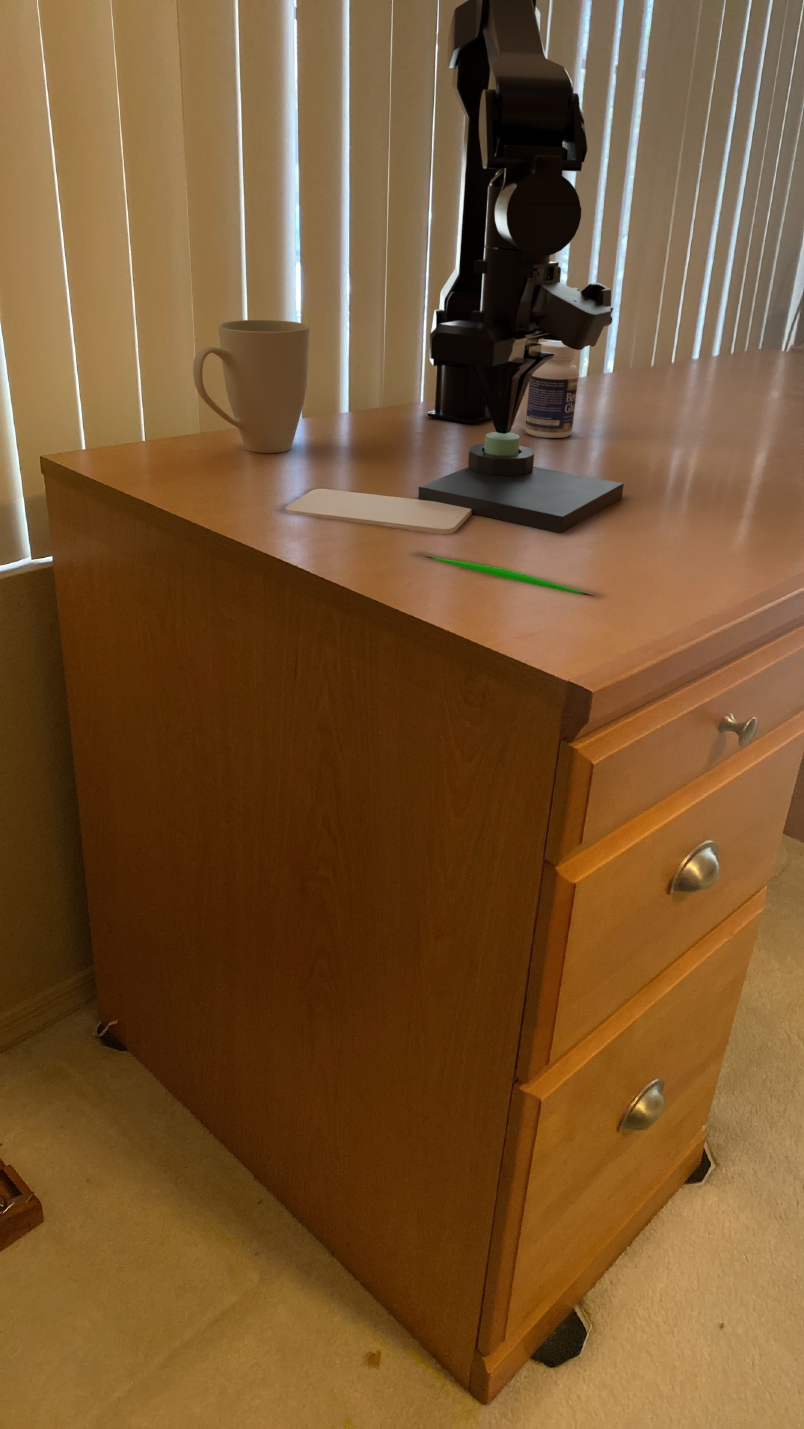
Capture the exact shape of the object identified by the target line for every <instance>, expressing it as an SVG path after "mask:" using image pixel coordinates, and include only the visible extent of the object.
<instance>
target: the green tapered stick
mask: <svg viewBox="0 0 804 1429" xmlns="http://www.w3.org/2000/svg"><path fill="white" fill-rule="evenodd" d="M424 557H425V558H428V559H431V560H435V561H439V562H442V563H446V564H449V565H452V566H456V567H461V568H465V569H468V570H471V571H475V572H479V573H483V574H487V575H491V576H495V577H499V578H502V579H507V580H513V581H517V582H520V583H526V584H531V585H536V586H540V587H545V588H550V589H553V590H554V589H555V590H559V591H565V592H570V593H575V594H579V595H586V596H591V597H594V595H593V594H589V593H587V592H584V591H580V590H577V589H575V588H571V587H567V586H564V585H561V584H557V583H554V582H550V581H547V580H545V579H541V578H537V577H534V576H531V575H527V574H524V573H521V572H518V571H513V570H509V569H505V568H502V567H496V566H490V565H486V564H479V563H473V562H467V561H459V560H455V559H454V560H453V559H445V558H441V557H432V556H425V555H424Z"/></svg>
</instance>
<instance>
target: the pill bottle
mask: <svg viewBox="0 0 804 1429" xmlns="http://www.w3.org/2000/svg"><path fill="white" fill-rule="evenodd" d="M539 344H542V346H541V352H547V353H553V354H554V357H553V358H552V359H551V360H548V361H547V362H546V363H544V364H543V365H542V366H541V367H539V368H538V369H537V370H536V371H535V372H534V373H533V374H532V377H531V379H530V381H529V384H528V394H527V405H526V416H525V426H524V430H525V432H526V433H527V434H528V435H529V436H532V437H536V438H545V439H560V438H561V439H562V438H567V437H570V436H571V435H572V432H573V426H574V418H575V417H574V416H575V409H576V401H577V393H578V392H577V391H578V382H579V369H578V368H577V366H576V365H574V364H573V363H572V362H573V360H574V359H575V356H576V350H575V349H572V348H570V347H568V346H565V345H564V344H563V343H562V341H541V342H539Z"/></svg>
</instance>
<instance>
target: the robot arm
mask: <svg viewBox="0 0 804 1429" xmlns="http://www.w3.org/2000/svg"><path fill="white" fill-rule="evenodd" d="M540 28H541V11H540V10H539V9H538V7H537V0H466V1H464V2H462V3H461V4H460V5H458V6H457V7H456V8H455V9H454V10H453V14H452V18H451V21H450V26H449V30H448V36H447V37H448V39H447V68H448V69H452V78H451V79H452V80H451V81H452V82H451V84H452V89H453V91H454V94H455V96H456V99H457V101H458V103H459V105H460V108H461V110H462V112H463V115H464V129H463V130H464V132H463V146H462V147H463V149H462V161H461V162H462V164H461V180H460V194H459V208H458V209H459V210H458V226H457V229H458V230H457V240H456V243H457V244H456V258H455V268H454V270H453V271H452V273H451V275H450V276H449V278H448V279H447V281H446V282H445V283H444V285H443V287H442V289H441V291H440V296H439V308H438V309H434V312H433V317H432V323H431V324H432V325H431V332H430V333H429V341H428V342H429V344H428V345H429V346H428V358H429V361H430V363H431V365H432V366H433V367H436V375H435V376H436V377H435V396H434V397H435V398H434V409H433V410H430V411H428V412H427V417H430V418H435V419H440V420H441V419H442V420H447V421H452V422H457V423H458V422H459V423H465V424H470V425H471V424H472V425H473V424H478V423H480V422H483V421H486V420H489V419H490V420H491V422H492V424H493V427H494V430H495V432H497V433H502V434H506V433H511V431H512V428H513V425H514V422H515V420H516V419H517V418H516V417H517V414H518V413H519V409H520V407H521V404H522V401H523V398H524V396H525V393H526V391H527V388H528V387H529V382H530V379H531V377H532V374H533V373H534V372H535V371H536V370H537V369H538V368H539V367H541V366H542V365H543V364H544V363H546V362H547V361H548V360H551V359H552V358H553V357H554V354H553V353H547V352H541V346H542V344H540V343H539V340H548V341H554V342H562V343H563V344H564V345H565V346H568V347H570V348H572V349H575V351H581V350H582V351H583V350H584V348H586V347H589V346H590V347H592V348H593V347H595V346H596V345H597V343H598V340H599V338H600V336H601V334H602V332H603V330H604V328H605V327H608V326H610V325H612V322H613V317H612V313H613V311H614V307H613V306H612V289H611V288H609V287H608V286H605V285H604V284H602V283H600V282H593V283H589V284H587V286H585V287H584V288H583V289H582V290H581V291H580V289H579V288H578V287H570V286H568V285H566V284H564V283H562V282H561V275H562V268H561V266H559V264H560V262H559V261H551V256H552V255H555V254H556V253H559V252H560V251H563V249H564V248H566V247H567V246H569V244H570V243H571V242H572V241H573V239H574V237H575V236H576V234H577V232H578V230H579V228H580V223H581V220H582V206H581V202H580V197H579V195H578V191H577V189H576V188H575V186H574V185H573V183H571V182H570V180H569V179H567V178H566V177H564V176H563V172H569V173H570V172H573V173H577V172H578V173H581V172H582V168H583V163H585V161H586V156H587V153H588V143H587V142H588V140H587V134H586V125H585V115H584V110H583V109H582V108H581V106H580V96H579V93H577V92H574V86H573V85H574V84H573V81H572V79H571V77H570V76H569V74H568V71H567V69H566V68H565V67H564V66H563V65H561V64H559V63H557V62H556V61H555V62H554V61H552V60H551V59H548V58H547V57H546V52H545V48H544V43H543V40H542V39H543V38H542V34H541V31H540V30H541V29H540ZM563 144H564V146H563Z"/></svg>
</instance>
